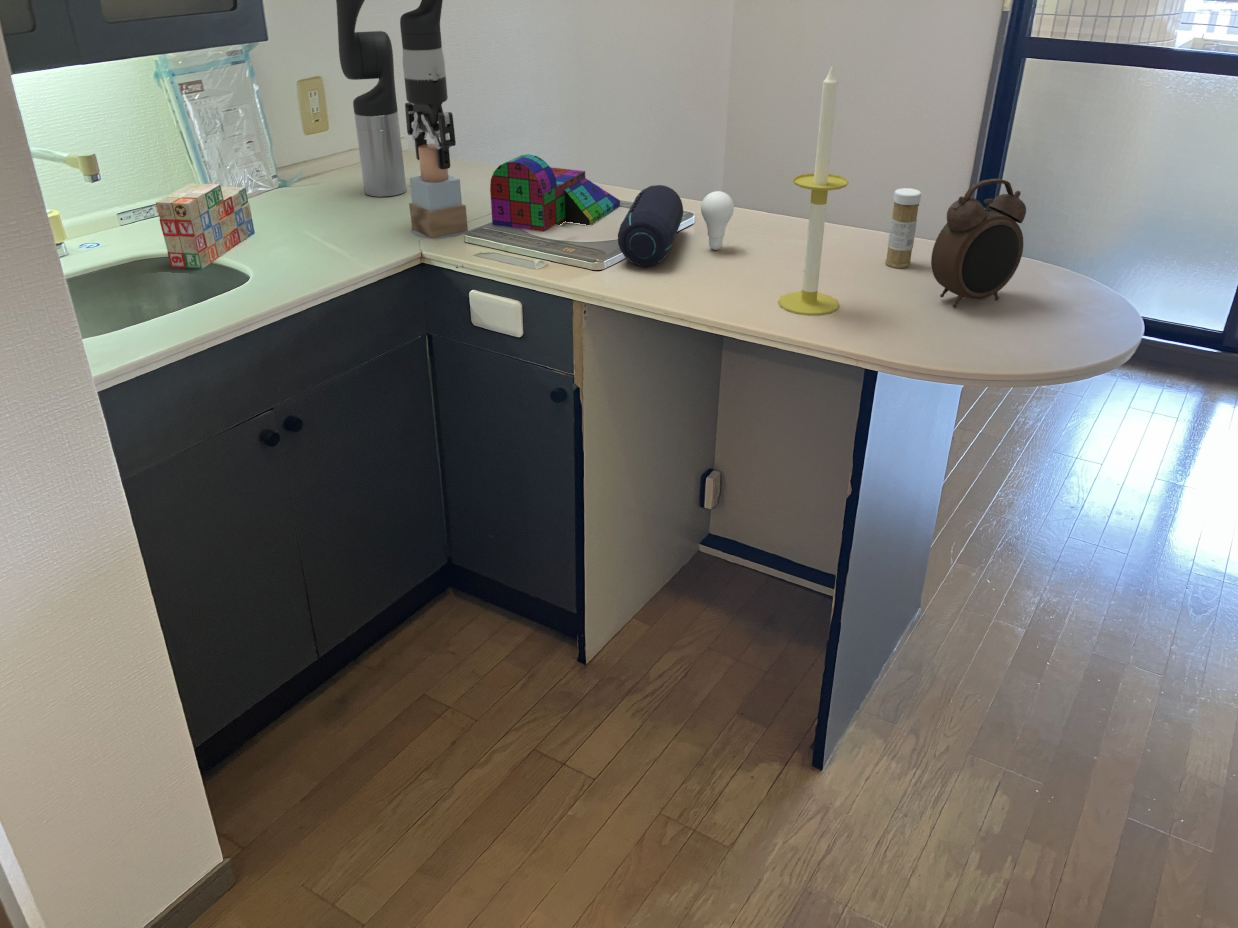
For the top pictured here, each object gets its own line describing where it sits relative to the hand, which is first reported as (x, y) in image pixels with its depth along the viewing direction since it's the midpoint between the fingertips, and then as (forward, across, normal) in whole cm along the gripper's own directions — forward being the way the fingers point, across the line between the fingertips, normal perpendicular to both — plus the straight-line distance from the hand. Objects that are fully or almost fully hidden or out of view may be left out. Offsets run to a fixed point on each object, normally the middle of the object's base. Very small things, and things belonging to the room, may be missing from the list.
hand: (433, 164), depth 192 cm
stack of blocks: (+14, -19, -38) cm, 45 cm away
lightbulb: (+14, +41, +36) cm, 56 cm away
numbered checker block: (+14, +5, +25) cm, 29 cm away
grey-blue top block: (+8, 0, 0) cm, 8 cm away
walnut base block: (+13, 0, 0) cm, 13 cm away
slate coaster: (+14, 0, 0) cm, 14 cm away
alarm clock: (+14, +87, +51) cm, 102 cm away
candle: (+14, +71, +29) cm, 78 cm away
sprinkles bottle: (+14, +68, +56) cm, 89 cm away
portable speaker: (+14, +33, +27) cm, 45 cm away
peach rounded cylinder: (+3, 0, 0) cm, 3 cm away
